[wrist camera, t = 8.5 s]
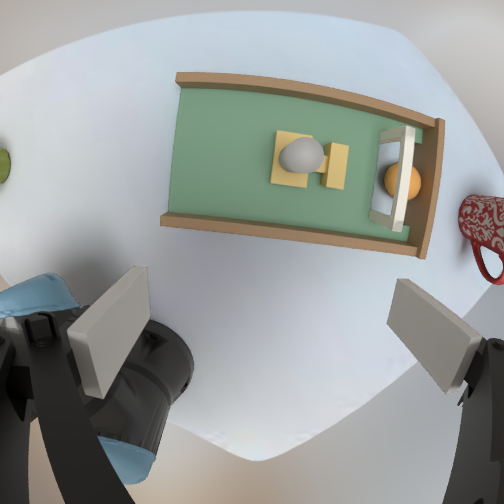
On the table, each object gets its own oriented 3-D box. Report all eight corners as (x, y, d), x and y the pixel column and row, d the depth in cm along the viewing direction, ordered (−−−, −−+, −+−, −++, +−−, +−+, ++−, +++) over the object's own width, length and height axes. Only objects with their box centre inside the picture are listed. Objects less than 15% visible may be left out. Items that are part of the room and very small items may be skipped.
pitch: (171, 218, 37) (148, 233, 29) (186, 83, 32) (167, 60, 24) (404, 247, 38) (437, 267, 29) (421, 124, 33) (458, 117, 24)
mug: (464, 178, 35) (525, 187, 22) (495, 203, 36) (551, 218, 23) (437, 252, 38) (492, 283, 25) (469, 270, 39) (520, 301, 26)
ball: (405, 207, 36) (380, 203, 34) (398, 174, 37) (373, 167, 35) (431, 196, 31) (407, 189, 29) (423, 160, 32) (398, 151, 30)
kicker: (269, 182, 34) (276, 188, 23) (275, 132, 32) (285, 115, 21) (335, 191, 34) (369, 202, 23) (341, 143, 32) (377, 134, 22)
